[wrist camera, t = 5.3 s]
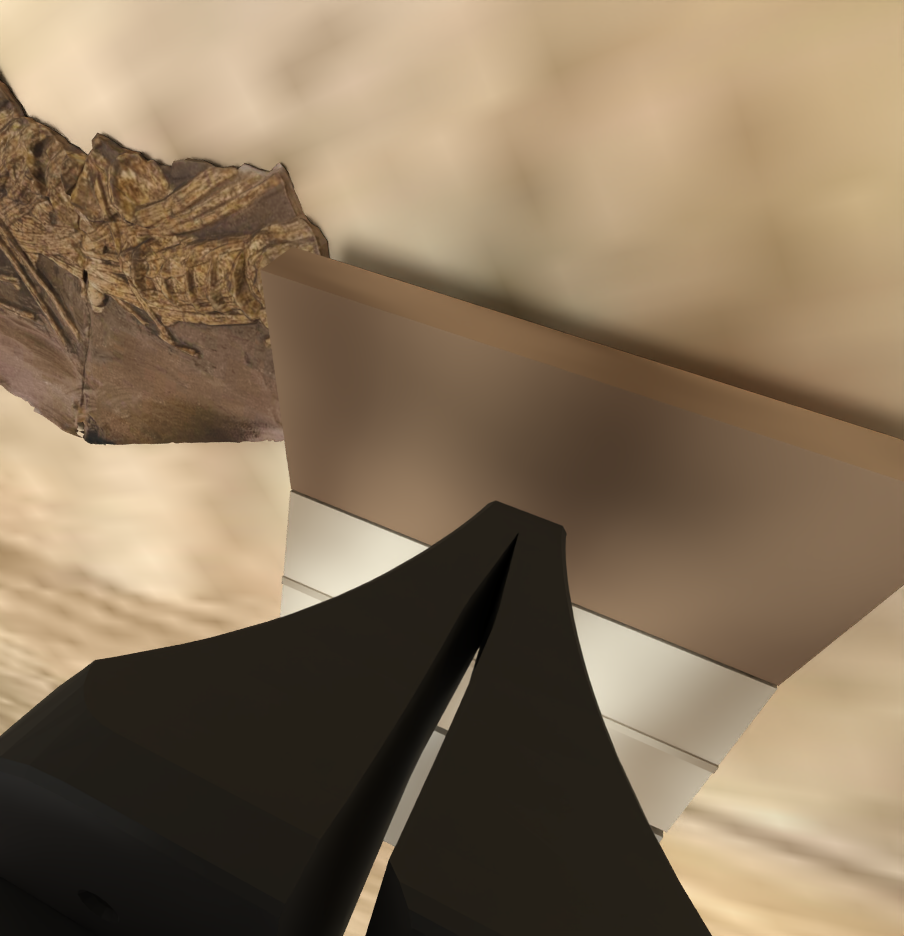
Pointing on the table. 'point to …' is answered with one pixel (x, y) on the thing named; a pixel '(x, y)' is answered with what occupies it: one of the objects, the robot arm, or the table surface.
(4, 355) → the fossil skeleton slab
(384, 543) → the ash board
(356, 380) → the walnut plank
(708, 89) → the table surface
